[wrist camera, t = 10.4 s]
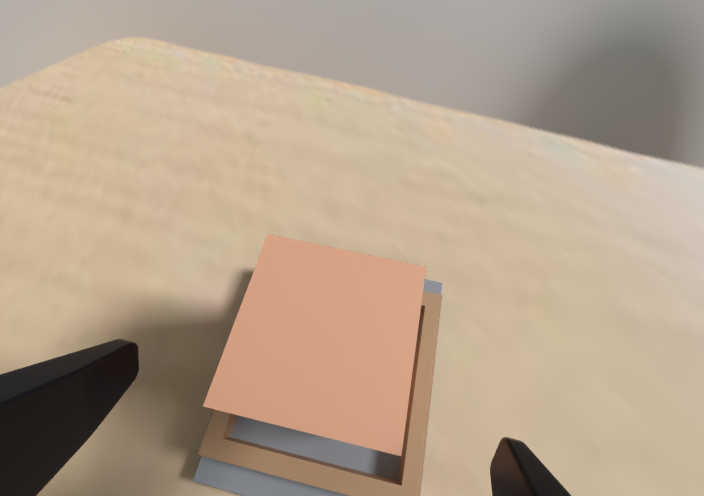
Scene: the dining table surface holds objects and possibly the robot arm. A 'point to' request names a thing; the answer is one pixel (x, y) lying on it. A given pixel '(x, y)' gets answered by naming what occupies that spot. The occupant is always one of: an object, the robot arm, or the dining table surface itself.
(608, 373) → the dining table surface
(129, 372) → the robot arm
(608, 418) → the dining table surface
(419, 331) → the base board
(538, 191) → the dining table surface
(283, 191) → the dining table surface
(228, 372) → the pillar block
